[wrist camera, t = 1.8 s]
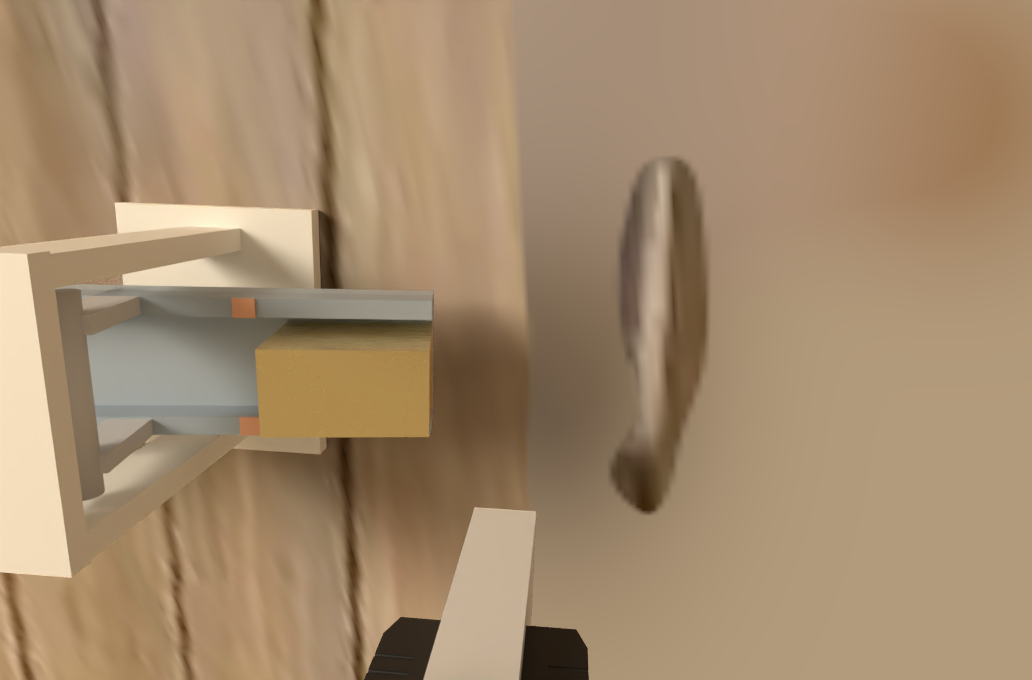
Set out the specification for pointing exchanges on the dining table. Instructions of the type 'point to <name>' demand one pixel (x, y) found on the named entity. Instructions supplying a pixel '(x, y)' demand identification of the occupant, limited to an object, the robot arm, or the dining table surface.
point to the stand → (43, 383)
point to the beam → (186, 357)
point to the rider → (346, 380)
